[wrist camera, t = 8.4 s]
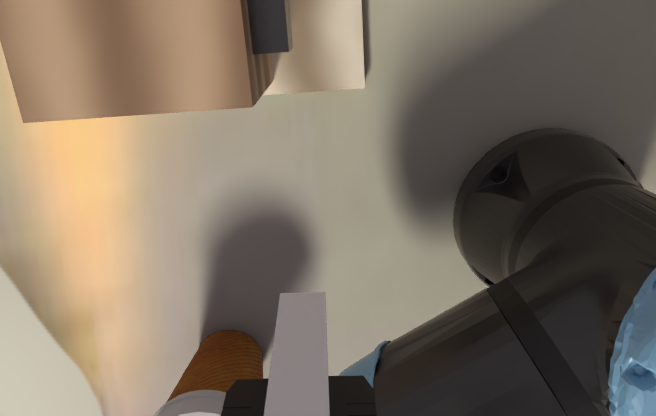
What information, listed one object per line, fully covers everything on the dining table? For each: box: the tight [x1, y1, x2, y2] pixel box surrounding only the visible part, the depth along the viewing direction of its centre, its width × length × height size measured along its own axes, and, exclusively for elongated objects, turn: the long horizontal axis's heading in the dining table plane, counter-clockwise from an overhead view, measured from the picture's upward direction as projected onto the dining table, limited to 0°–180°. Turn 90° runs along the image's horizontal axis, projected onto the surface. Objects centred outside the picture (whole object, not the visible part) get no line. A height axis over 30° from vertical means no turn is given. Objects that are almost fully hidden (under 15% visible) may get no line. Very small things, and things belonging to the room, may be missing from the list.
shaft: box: [247, 0, 293, 54], centre depth 29 cm, size 16×5×5 cm, turn 94°
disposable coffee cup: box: [154, 330, 263, 416], centre depth 43 cm, size 10×10×12 cm
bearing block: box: [0, 0, 365, 123], centre depth 31 cm, size 20×12×14 cm, turn 94°
